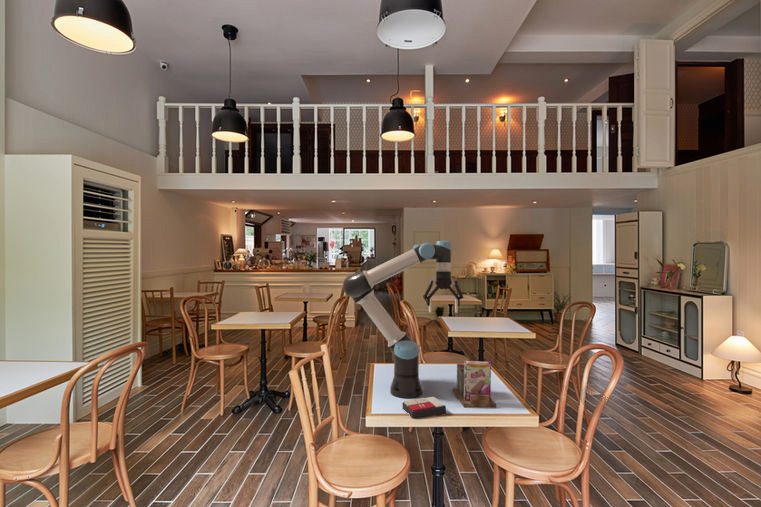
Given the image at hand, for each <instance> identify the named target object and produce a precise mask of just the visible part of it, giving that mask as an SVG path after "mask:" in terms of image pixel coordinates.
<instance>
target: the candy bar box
mask: <svg viewBox="0 0 761 507" xmlns="http://www.w3.org/2000/svg"><path fill="white" fill-rule="evenodd" d="M463 363H464V398H465V400H468V401H470V395H489V402H490V398H491V391H492V390H491V381H492V374H491V373H492V364H491V363H490V362H489V361H480V360H479V361H477V360H464V361H463Z"/></svg>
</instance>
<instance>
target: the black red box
mask: <svg viewBox="0 0 761 507" xmlns="http://www.w3.org/2000/svg"><path fill="white" fill-rule="evenodd" d="M446 407H447V406H446V405H445V404H444V403H443V402H441V401H440V400H439V399H437V398H436V397H435V396H430V397H421V398H414V399H410V400H404V401H403V402H402V410H403V409H404V410H405V411H406V412H407V413H409V414H410V416H411V417H410V416H409V417H410V418H411V419H421V418H422V419H423V418H429V417H434V416H437V415H438V416H443V415H442V414H445V415H447V408H446ZM405 411H404V412H405ZM406 412H405V413H406ZM407 413H406V414H407ZM433 415H434V416H433Z"/></svg>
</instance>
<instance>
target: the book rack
mask: <svg viewBox="0 0 761 507" xmlns="http://www.w3.org/2000/svg"><path fill="white" fill-rule="evenodd" d="M452 392H453V393H454V395H455V396H456V398H457V399H458V401H459V403H460V404H461V405H462V406H463V408H497V403H496V402H495V401H494V400H493V398H491V397H490V402H489V395H470V401H468V400H465V398H464V362H463V363H456V387H452Z"/></svg>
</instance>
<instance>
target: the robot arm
mask: <svg viewBox="0 0 761 507" xmlns="http://www.w3.org/2000/svg"><path fill="white" fill-rule="evenodd" d="M451 244H452V243H451V242H450V241H449V240H437V241H436V244H432V243H430V242H424V243H422V244H420V243H419V244H414V245H413V248H412V249H409V250H408V251H406V252H404V253H402V254H400V255H397V256H396V257H394V258H392V259H388V261H386V262H383V263H380V264H379V265H377V266H374V267H373V268H371V269H369V270H364V269H363V270H362V271H360V272H356V273H352V274H349V275H348V276H346V277H345V279H344V280H343V282H342V283H343V284H342V290H343V292H344V293H345V295H347V297H350V298H351V299H352V300H353V301H354V303H355V304H356V305H357V304H358V305H360V306H361V307H362V308H363V310H364V312H366V314H367V316H368V317H369V318H370V319H371V320H372V321H371V322H373V323H374V325H375V326H376V327H377V328H378V330H379V332H380V333H381V334H382V335H383V337H384V338H385V341H387V347H388V349H389V350H390V351H391V353H392V354H393V356H394V357H393V358H394V361H393V362H394V363H393V364H394V366H393V367H394V368H393V374H394V375H393V378H392V381H391V384H390V387H389V388H390V389H389V392H390V394H391V395H392V396H393V397H396V398H402V399H416V398H419V397H420V396H422V395H423V387H422V383H421V381H420V378H419V374H420V373H419V369H420V368H419V367H420V365H419V364H420V363H419V361H420V358H419V354H420V348H419V347H420V346H419V344H418V342H415V341H414V340H413V339H411V338H410V336H409V335H408V334H407V333H406V332H405V331H402V330H401V329H400V328H399V326H398V325H397V323H396V322H395V321H394V320H393V318H392V316H390V313H388V311H386V309H385V308H384V306H383V305H382V303H381V302H380V301H379V300H378V298H377V297H376V295H375V293H374V292H375V290H374V286H375V285H377V284H379V283H382V282H383V281H386V280H387V279H390V278H392V277H393V276H396V275H397V274H400V273H402V272H404V271H406V270H408V269H410V268H412V267H414V266H416V265H418V264H420V263H423V262H425V261H427V260H436V263H435V265H436V267H435V270H436V271H435V272H436V273H435V280H429V285H428V287H427V288H426V290H425V292H424V295H423V298H424V299H426V306H428V313H430V314H431V313H432V299H431V298H432V297H433V296H434V295H435V294H436V293H437V291H438V290H447V289H448V291H449V292H451V294H452V295H453V296H454V297H455V299H454V313H457V314H458V313H459V312H458V311H459V307H460V303H461V300H462V299H464V295H463V294H462V291H461V289H460V287H459V286H458V281H457V280H456V279H455V280H452V272H451V270H452V245H451ZM434 284H435V285H436V286H435V287H434V288H433V290H432V287H433V285H434ZM451 285H453V286H454V288H455V290H456V291H455V290H454V289H453V287H452V286H451ZM431 290H432V291H431ZM430 291H431V292H430Z"/></svg>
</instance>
